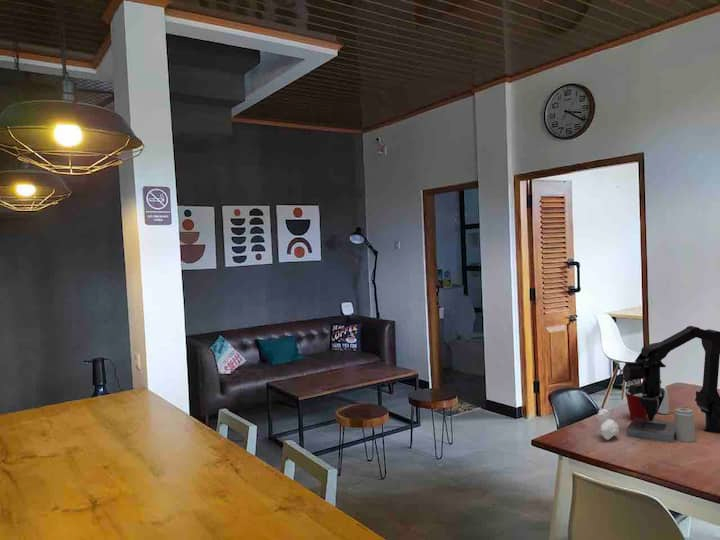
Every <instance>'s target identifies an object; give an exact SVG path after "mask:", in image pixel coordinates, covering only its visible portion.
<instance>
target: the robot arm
mask: <svg viewBox="0 0 720 540" xmlns="http://www.w3.org/2000/svg"><path fill="white" fill-rule="evenodd" d="M695 338H697V339H699V340H701V341H700V342H701V345H702V348H703V349H704V363H703V364H704V365H703V374H702V375H703V376H702V378H703V380H702V388H701V389H700V391H699V390H698V391H697V390H695V399H694V401H695V402H696V406H697V407H698V408H699V409H700V411H701V412H702V413H704V415H705V416H704V417H705V419H704V420H705V425H704V427H703V431H704V432H710V433H715V432H716V434H720V393H719V391H718V387H719V386H718V384H719V383H718V382H719V371H720V370H719V369H720V331H718V330H714V329H710V328H709V329H702V328H701V327H698V326H695V325H689V326H686V327H685V328H684V329H682V330H680V331H679V332H676V333H674V334H673V335H670V336H669V337H667V338H665V339H663V340H662V341H660V342H654V343H650V344H646V345H645V346H643V347H642V348H641V350H640V353H639V354H638V356H637V357H636V358H635V360H634V361H625V365H624V366H623V368H622V375H623V378H624V379H625V380H627V381H628V380H643V381H641V383H636V384H630V385H628V387H627V389H628V392H629V393H630V395H634V394H639V393H642V395H643V396H642V397H641V398H640V399H639V404H641V406H643V407H644V408H645V409H646V412H647V417H648V418H647V419H649V421H653V420H654V418H655V416H657V415H658V413H659V412H658V410H659V408H660V405H661V403H662V401H663V399H664V396H665V390H664V389H663V388H661V385H660V384H662V380H661V368H666V367H667V366H666V364H664V363H663V362H662V360H664V359H665V358H666V357H667V356H668V354H669V353H671V351H673V350H675V349H677V348H678V347H680V346H681V347H682V346H683V345H684V344H686V343H688V342H690V341H691V340H694V339H695ZM660 395H662V396H660Z"/></svg>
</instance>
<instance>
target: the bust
mask: <svg viewBox="0 0 720 540" xmlns="http://www.w3.org/2000/svg"><path fill="white" fill-rule="evenodd" d="M610 415H611V413H610V412H609V410H607V409H606V408H602V409H600V410H598V411H597V415H596V420H598V421H600V428H599V429H600V433H601V436H602V437H603V438H604V439H605V440H610V439H611V438H612V437H614V436H616V435H617V434H619V431H620V428H619V425H618V423H617V422H616V421H615V420H614V419H611V418H609V416H610Z"/></svg>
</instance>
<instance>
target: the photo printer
mask: <svg viewBox="0 0 720 540" xmlns="http://www.w3.org/2000/svg"><path fill="white" fill-rule="evenodd" d="M660 385H661V388H663V389H664V390H665V396H664V399H663V401H662V403H661V405H660V408H659V410H658V412H657V413H659V414H662V415H668V414H669V413H670V407H669V406H670V405H669V403H670V401H669V399H670V398H669V390H668V388H667V387H666V386H665V385H663V384H662V383H661V384H660ZM660 396H662V395H660Z"/></svg>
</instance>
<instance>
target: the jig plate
mask: <svg viewBox="0 0 720 540" xmlns="http://www.w3.org/2000/svg"><path fill="white" fill-rule="evenodd" d="M626 437H631V438H637V439H645V440H649V441H650V440H651V441H657V442H663V443H671V444H672V443H675V441H676V440H677V439H676V435H675V422H671V421H665V420H657V419H653V421H649V419H648V418H646V419H644V418H637V417H635V418H634V419H633V420H631V422H630V423H629V425H628V426H627V427H626Z"/></svg>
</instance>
